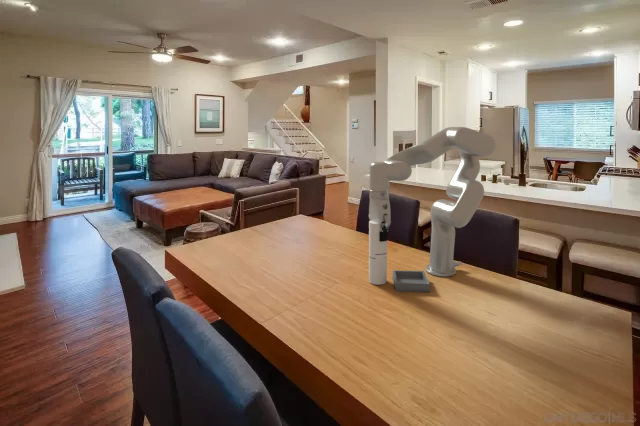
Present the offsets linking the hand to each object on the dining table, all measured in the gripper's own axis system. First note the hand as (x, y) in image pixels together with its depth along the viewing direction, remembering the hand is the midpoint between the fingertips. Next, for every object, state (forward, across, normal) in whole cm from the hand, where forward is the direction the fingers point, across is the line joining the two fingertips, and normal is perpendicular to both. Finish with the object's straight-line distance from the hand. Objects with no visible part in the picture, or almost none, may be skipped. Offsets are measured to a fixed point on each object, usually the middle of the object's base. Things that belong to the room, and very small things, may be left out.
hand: (378, 237), depth 144 cm
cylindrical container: (+19, 0, 0) cm, 19 cm away
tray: (+19, -8, -10) cm, 23 cm away
